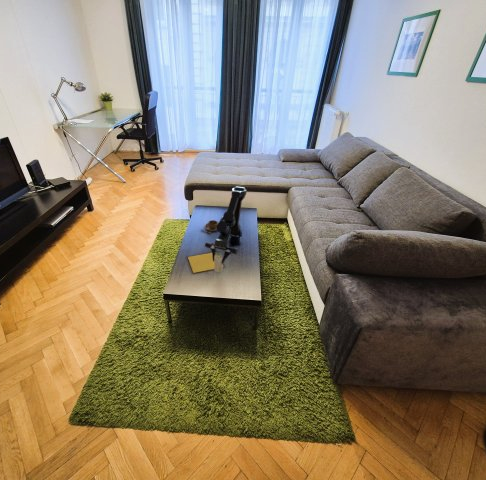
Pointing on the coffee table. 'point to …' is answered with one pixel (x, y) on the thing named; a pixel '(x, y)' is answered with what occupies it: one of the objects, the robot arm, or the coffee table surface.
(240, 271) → the coffee table surface
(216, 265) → the bottle
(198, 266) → the cloth
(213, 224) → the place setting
